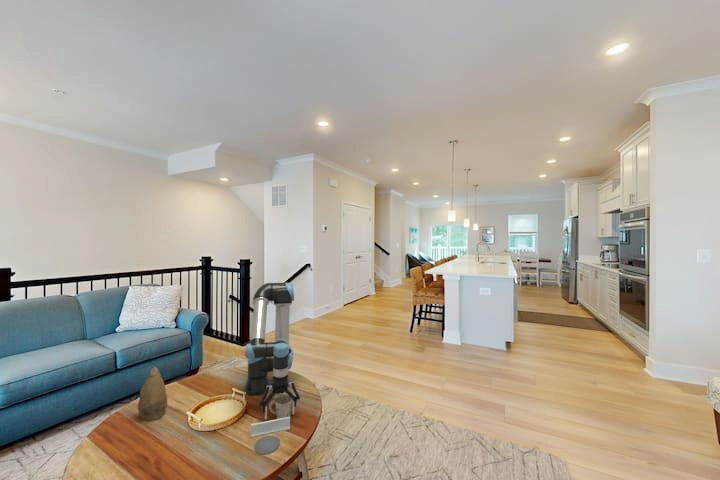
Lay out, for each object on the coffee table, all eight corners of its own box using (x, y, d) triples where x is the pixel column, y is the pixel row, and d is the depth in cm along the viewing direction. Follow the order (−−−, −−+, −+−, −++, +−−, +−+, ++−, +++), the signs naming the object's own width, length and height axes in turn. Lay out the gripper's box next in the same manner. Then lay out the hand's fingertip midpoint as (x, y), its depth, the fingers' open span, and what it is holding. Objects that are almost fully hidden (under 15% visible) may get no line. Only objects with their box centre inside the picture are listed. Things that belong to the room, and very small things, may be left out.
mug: (287, 425, 141) (287, 405, 141) (264, 421, 143) (264, 401, 143) (294, 415, 149) (294, 396, 149) (272, 411, 152) (272, 393, 152)
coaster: (254, 439, 130) (254, 439, 130) (278, 434, 134) (278, 433, 134) (254, 457, 120) (254, 456, 120) (281, 450, 124) (281, 449, 124)
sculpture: (133, 418, 143) (134, 369, 143) (157, 406, 153) (158, 360, 153) (147, 425, 138) (148, 374, 138) (171, 413, 148) (172, 365, 148)
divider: (250, 433, 134) (250, 423, 134) (289, 425, 141) (289, 415, 141) (250, 437, 131) (250, 427, 131) (290, 429, 138) (290, 419, 138)
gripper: (255, 382, 138) (253, 425, 138) (306, 374, 147) (305, 415, 147) (254, 375, 145) (253, 416, 145) (303, 368, 154) (302, 407, 154)
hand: (279, 415), depth 146 cm, fingers open, 13 cm apart
